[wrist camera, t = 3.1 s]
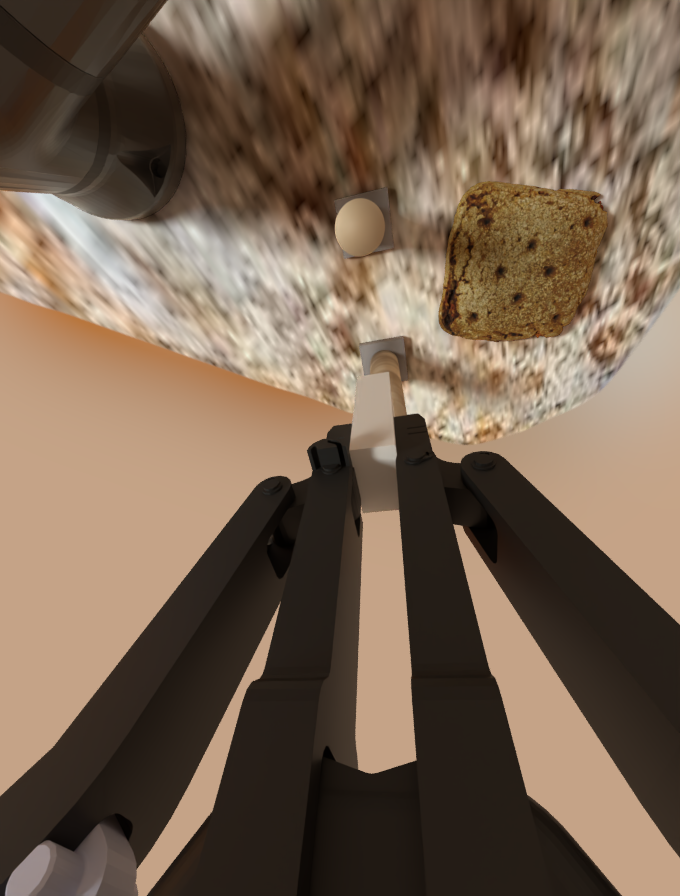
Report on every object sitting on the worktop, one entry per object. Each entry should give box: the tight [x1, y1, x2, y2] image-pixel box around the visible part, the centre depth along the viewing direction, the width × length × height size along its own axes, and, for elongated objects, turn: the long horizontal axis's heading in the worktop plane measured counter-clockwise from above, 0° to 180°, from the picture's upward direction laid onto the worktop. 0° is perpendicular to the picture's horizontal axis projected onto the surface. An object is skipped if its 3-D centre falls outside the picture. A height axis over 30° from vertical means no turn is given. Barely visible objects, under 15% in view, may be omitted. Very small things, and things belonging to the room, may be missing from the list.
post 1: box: [334, 187, 394, 259], centre depth 30 cm, size 5×5×15 cm
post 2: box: [359, 336, 408, 417], centre depth 37 cm, size 5×5×15 cm
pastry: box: [439, 181, 608, 342], centre depth 36 cm, size 17×17×3 cm
